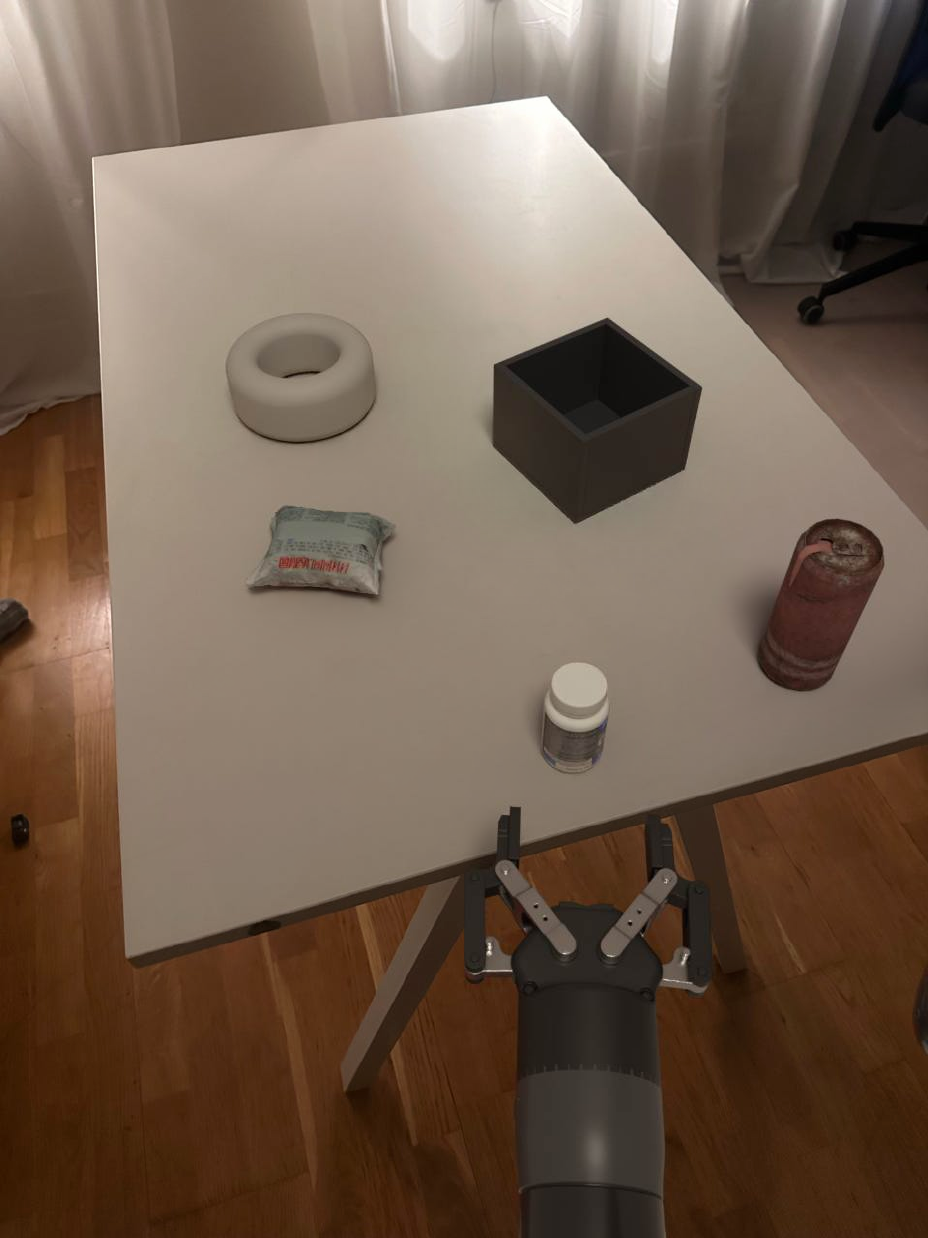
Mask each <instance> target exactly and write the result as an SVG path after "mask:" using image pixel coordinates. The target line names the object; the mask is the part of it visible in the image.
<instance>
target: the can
mask: <svg viewBox="0 0 928 1238" xmlns="http://www.w3.org/2000/svg"><path fill="white" fill-rule="evenodd" d="M884 568H885V554H884V546H883V544H882V542H881V540H880V538H879V537H878V536H877V535H876V534H875V532H873V531H872V530H871V529H869V528H867V527H866V526H864V525H863V524H861V523H859V522H855V521H854V520H853V521H852V520H850V519H844V518H826V519H823V520H819V521H816V522H815V523H814V524H812V525H810V526H809V527H808V529H806V530H805V531H804V532H802V533H801V535H800V536H799V538H798V540H797V542H796V544H795V546H794V549H793V552H792V555H791V558H790V561H789V563H788V566H787V568H786V572H785V575H784V577H783V580H782V583H781V585H780V588H779V591H778V594H777V597H776V600H775V602H774V604H773V607H772V611H771V613H770V616H769V618H768V621H767V624H766V626H765V630H764V633H763V635H762V638H761V641H760V643H759V646H758V655H757V656H758V660H759V663H760V666H761V668H762V669H763V671H764V672H765V673H766V675H767V676H768V677H769V678H770V679H771V680H773V681H774V682H775V683H776V684H778V685H780V686H782V687H784V688H786V689H789V690H790V689H791V690H795V691H808V690H809V691H810V690H814V689H817V688H819V687H822V686H824V685H826V684H827V683H828V682H829V681H830V680H831V679H832V678H833V676H834V674H835V671H836V669H837V667H838V665H839V663H840V661H841V658H842V657H843V654H844V652H845V650H846V648H847V646H848V644H849V642H850V640H851V637H852V635H853V633H854V632H855V629H856V627H857V625H858V622H859V621H860V619H861V616H862V615H863V612H864V610H865V608H866V606H867V605H868V602H869V600H870V597H871V595H872V594H873V591H874V589H875V587H876V585H877V583H878V580H879V578H880V576H881V574H882V572H883V570H884Z"/></svg>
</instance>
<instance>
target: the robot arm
mask: <svg viewBox="0 0 928 1238" xmlns="http://www.w3.org/2000/svg"><path fill="white" fill-rule="evenodd" d="M521 819H522V807H521V806H509V814H501V815H500V817H499V819H498V821H497V839H496V856H495V858H496V859H495V861H494V863H493V864H492V865H490V866H489V867H486V868H482V869H480V868H477V867H472V868H469V869H467V870H466V871H465V873H464V877H463V895H464V896H463V960H464V961H463V962H464V963H463V965H464V978H465V980H466V981H467V982H468V983H469V984H471V985H479V984H482V982H483V981H484V980H485V978H511V979H512V980H513V982H514V985H515V987H516V990H517V996H518V997H517V999H518V1000H517V1031H516V1033H517V1038H516V1071H515V1072H516V1080H515V1100H514V1102H513V1116H514V1121H515V1122H514V1147H515V1157H516V1159H515V1160H516V1168H517V1179H518V1180H517V1181H518V1183H517V1184H518V1193H519V1194H518V1212H517V1213H518V1214H517V1215H518V1216H517V1220H518V1221H517V1238H667V1231H666V1218H665V1215H666V1214H665V1203H664V1202H663V1201H664V1177H665V1164H666V1163H665V1162H666V1137H665V1121H664V1120H665V1119H664V1105H663V1091H662V1090H663V1089H662V1088H663V1087H662V1074H661V1062H660V1061H661V1060H660V1059H661V1058H660V1045H659V1030H658V1029H659V1028H658V1014H657V992H658V990H659V987H665V988H675V989H683V990H684V991H685V993H686V995H688V996H689V997H691V998H695V999H698V998H701V997H702V996H703V995H704V994H705V992H706V990H707V989H708V986H709V985H710V983H711V981H712V980H713V977H714V976H713V975H714V965H713V963H714V961H713V941H712V939H713V938H712V917H711V915H712V914H711V895H710V893H711V891H710V888H709V886H708V884H707V883H706V882H704V881H702V880H697V879H696V880H692V881H691V880H689V879H686V878H684V877H682V876H681V875H679V873H678V872H677V870H676V866H675V856H674V855H675V854H674V853H675V852H674V842H673V833H672V832H673V831H672V829H671V827H670V825H669V823H664V822H663V823H662V820H661V814H659V813H647V815H646V818H645V823H644V826H643V827H644V828H643V829H644V830H643V834H644V836H643V837H644V849H645V864H646V878H647V881H646V882H647V886H646V887H645V888H644V889H643V890H642V891H641V892H640V893H639V894H638V895H637V896H636V897H635V899H634V900H633V901H632V903H631V904H630V905H629V906H628V908H626V910H625V912H623V911H622V910H620V909H618V908H616V907H614V904H613V903H601V902H599V903H595V904H594V903H593V904H590V905H585V904H581V903H578V902H575V901H567V900H565V901H564V900H559V901H558V904H555V905H552V906H551V907H550V906H549V904H548V903H547V902H546V900H545V899H544V898H543V897H542V895H541V894H540V893H539V891H538V890H537V889H536V888H535V887H534V886H533V885H530V884H529V882H528V881H527V879H526V878H525V877H524V876H523V875H522V873H521V872H520V860H521V826H522V825H521V822H522V821H521ZM496 896H499V898H500V899H501V900H502V902H503V903H504V905H505V906H506V907H507V909H508V910H509V912H510V914H511V915H512V917H513V919H514V922H515V923H516V925H517V926H518V928H519V929H520V931H522V933H523V934H524V937H523V939H521V941H520V942H519V944H518V945H517V946H516V947H515V948H514V950H513V952H512V953H511V955H510V954H506V953H504V952H503V950H502V949H501V945H500V942H499V940H498V939H497V938H496V937H495V936H493V935H486V899H489V898H492V897H496ZM667 905H670V906H673V907H675V908H677V909H681V927H682V928H681V932H682V934H681V935H682V946H679V947H677V948H676V949H675V950H674V952H673V954H672V957H671V959H670V962H668V963H663V962H662V960H661V958H660V957H659V955H658V954H657V953H656V952H655V951H654V949H653V947H652V946H651V945H650V944H649V943H648V942H647V940H646V938H645V936H646V935H647V934H648V932H649V931H650V929H651V928H652V926H653V924H654V923H655V921H656V920H657V918H658V917H659V916H660V915H661V913H662V912H663V910H664V909H665V908H666V907H667ZM918 982H919V983H918V985H917V988H916V990H915V993H914V1000H913V1006H912V1012H911V1019H912V1021H911V1022H912V1028H913V1033H914V1035H915V1039H916V1041H917V1043H918V1045H919V1047H920V1049H921V1050H922V1052H923V1053H924V1054H925V1056H926V1057H927V1058H928V962H927V963H926V965H925V967H924V969H923V972H922V974H921V976H920V979H919V981H918Z"/></svg>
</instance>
